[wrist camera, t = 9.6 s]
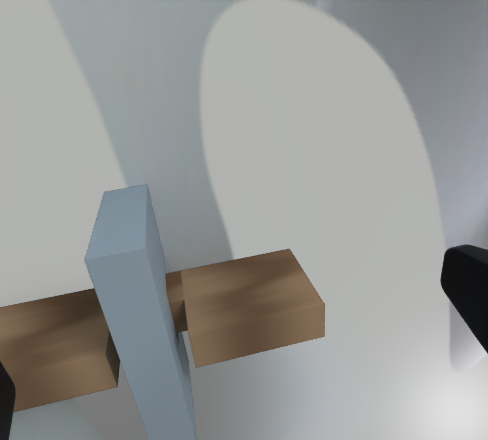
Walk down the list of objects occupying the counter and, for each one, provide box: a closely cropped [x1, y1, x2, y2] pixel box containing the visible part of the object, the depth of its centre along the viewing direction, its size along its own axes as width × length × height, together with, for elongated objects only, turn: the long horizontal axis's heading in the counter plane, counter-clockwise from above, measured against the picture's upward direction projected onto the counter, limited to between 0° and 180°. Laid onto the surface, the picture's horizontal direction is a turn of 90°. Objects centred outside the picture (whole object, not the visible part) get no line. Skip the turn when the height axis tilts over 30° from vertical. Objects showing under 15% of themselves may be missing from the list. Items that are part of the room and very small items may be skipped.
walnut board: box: [0, 249, 325, 412], centre depth 19 cm, size 16×2×5 cm, turn 96°
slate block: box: [85, 185, 197, 440], centre depth 18 cm, size 12×2×6 cm, turn 6°
